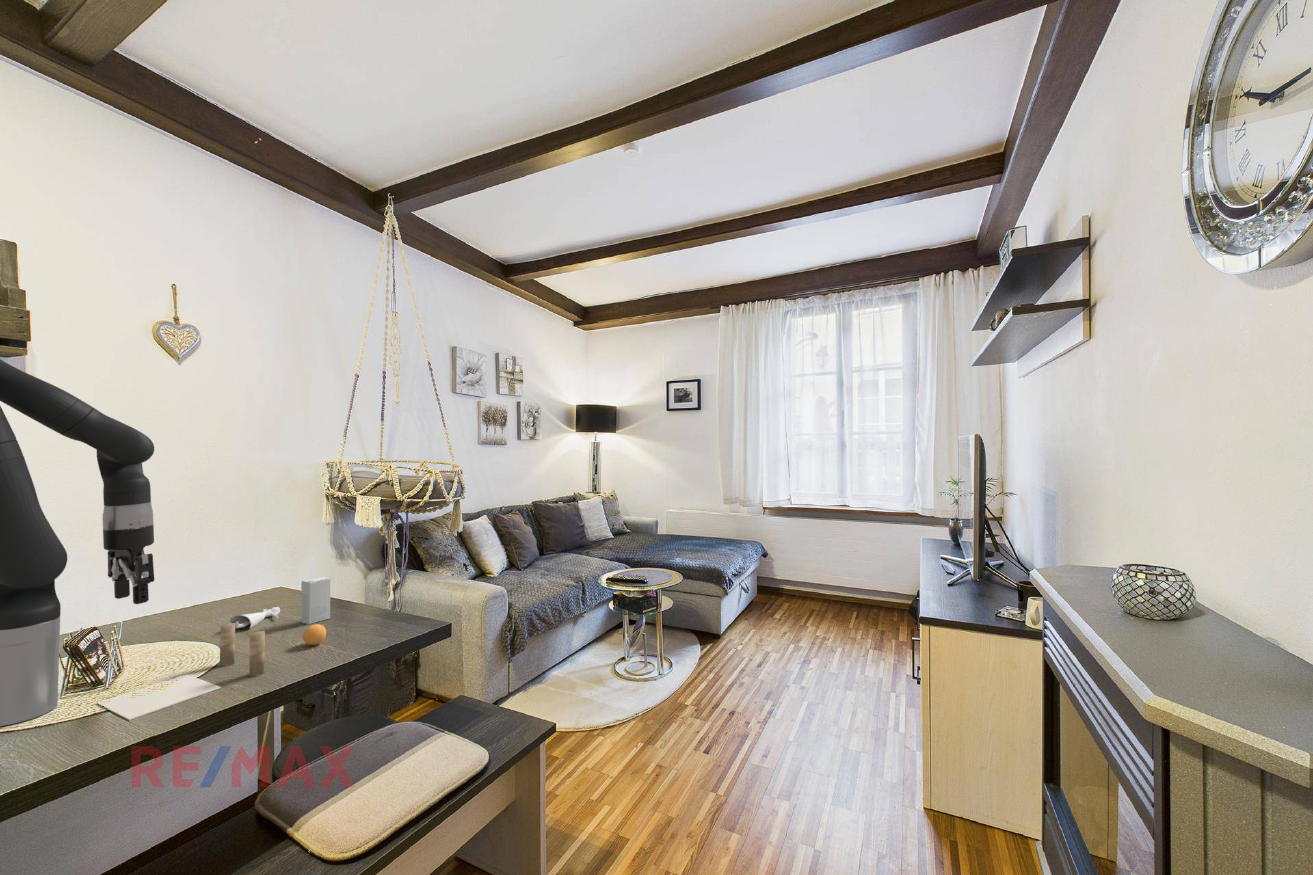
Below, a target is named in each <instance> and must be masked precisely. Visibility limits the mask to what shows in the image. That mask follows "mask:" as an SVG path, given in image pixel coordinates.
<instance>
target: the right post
mask: <svg viewBox="0 0 1313 875" xmlns="http://www.w3.org/2000/svg"><path fill="white" fill-rule="evenodd" d="M265 640H266V631H265V630H257V631H254V632H251V633H250V634H249V663H248V664H249V669H248V673H249V674H248V676H249V677H252V678H253V677H258V676H261V675H263V674H264V673H265V651H266V650H265V649H266V647H265V645H266V644H265V642H266V641H265Z"/></svg>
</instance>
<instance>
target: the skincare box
mask: <svg viewBox="0 0 1313 875" xmlns="http://www.w3.org/2000/svg"><path fill="white" fill-rule="evenodd" d="M300 588H301V589H300V590H301V592H300V594H301V595H300V596H301V599H300V600H301V601H300V603H301V604H300V605H301V606H300V622H301V623H303V624H305V623H306V625H313V624H315V623H316V624H317V623H319V622H323V621H326V620H329V619H331V578H330V577H327V576H319V577H316V578H315V577H314V578H309V579H306V580H305V579H304V580H301V587H300ZM318 621H319V622H318Z"/></svg>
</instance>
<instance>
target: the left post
mask: <svg viewBox="0 0 1313 875" xmlns="http://www.w3.org/2000/svg"><path fill="white" fill-rule="evenodd" d="M235 646H236V629H235V623H228V622H227V623H223V624H221V625H220V639H219V667H228V666H231V665H233V664H235V656H236V654H235V652H236V651H235V649H236V648H235Z"/></svg>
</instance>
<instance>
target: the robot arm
mask: <svg viewBox="0 0 1313 875" xmlns="http://www.w3.org/2000/svg"><path fill="white" fill-rule="evenodd" d="M0 402H1V403H2V404H4V405H6V406H8V407H10V408H12V409H14V410H16V411H17V412H19V413H21V414H23V415H25V416H26V417H28V418H30V419H32V420H34V421H36V422H37V423H38V424H41V425H42V426H44V427H46V428H47V429H49V430H52V431H54V432H56V433H57V434H59V435H61V436H63V437H66V438H68V439H70V440H73V441H77V442H81V443H84V444H85V445H87V446H89V447H91V448H93V449H94V450H96V460H97V465H98V470H99V472H100V477H101V479H102V483H103V489H102V490H103V491H102V493H103V494H102V495H103V510H102V512H103V513H102V537H103V538H102V540H103V542H102V543H103V549H104V550H105V551H107V577H108V578H109V579H110V578H111V582H113V588H114V589H113V590H114V599H117V600H119V599H124V598H128V597H130V596H131V590H130V588H131V587H130V582H131V585H132V603H133V604H134V605H139V604H144V603H145V604H146V603H148V601H149V600H150V599H149V584H151V583H152V582H153V583H154V581H155V569H154V555H153V554H152V553H146V554H145V549H144V548H146V547H149V546H151V545H154V543H155V530H154V526H155V524H154V511H153V506H152V494H151V493H152V492H151V482H150V480H149V479H150V478H148V477H147V476H146V475H145V474H144V468H143V463H144V462H147V461H148V460H150V459H151V458H152V456H153V455H154V452H155V446H154V442H153V441H152V439H151V438H149V436H148V435H146V434H144V433H143V432H142V431H140V430H138V429H136V428H134V427H133V426H130V425H129V424H128V425H127V424H126V423H124V422H121V421H120V420H118V419H115V418H112V417H110V416H108V415H106V414H104V413H103V412H101V411H99V410H98V409H97V408H95V407H93V406H92V405H90V404H88V403H87V402H86V401H83V400H82V399H80V398H78V397H77V396H75V395H73V394H72V393H70V392H67V391H66V390H64V389H62V388H60V387H58V386H56V385H54V384H52V383H50V382H48V381H45V380H43V379H40V378H38V377H36V376H34V375H31V374H29V373H27V372H25V371H23V370H21V369H18V368H17V367H15V366H14V365H12V364H10V363H7V362H6V361H3V360H2V359H0ZM25 458H26V457H25V456H24V453H23V450H22V448H21V447H20V444H19V441H18V439H17V437H16V434H15V432H14V430H13V428H12V426H11V424H10V422H9V420H8V419H7V416H6V414H5V412H4V410H3V408H2V406H1V405H0V727H4V726H10V725H13V724H17V723H21V722H22V723H23V722H25V721H29V720H32V719H34V718H37V717H41V716H43V715H45V714H47V713H49V712H51V711H52V710H54V709H56V708H57V707H58V701H59V675H60V674H59V672H60V671H59V667H60V665H59V664H60V643H61V642H60V639H61V637H60V636H61V635H60V634H61V610H62V608H61V602H60V600H59V597H58V596H57V591H56V585H55V584H56V579H58V578H59V577H60V576H61V575H62V574H63V572H64V571H65V569H66V566H67V562H68V553H67V550H66V548H65V547H64V545H63V544H62V542H61V540H60V539H59V537H58V536H57V534H56V533H55V530H54V529H53V527H52V526H51V524H50V522H49V520H48V519H47V517H46V515H45V514H44V511H43V509H42V507H41V505H40V501H39V498H38V494H37V491H36V489H35V488H36V487H35V485H34V481H33V479H32V476H31V473H30V470H29V468H28V464H27V462H26V459H25Z"/></svg>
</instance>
